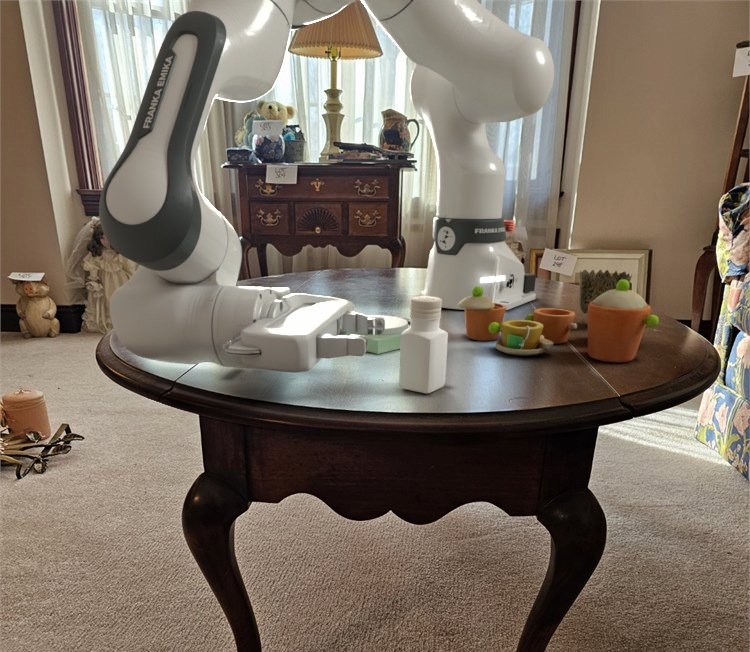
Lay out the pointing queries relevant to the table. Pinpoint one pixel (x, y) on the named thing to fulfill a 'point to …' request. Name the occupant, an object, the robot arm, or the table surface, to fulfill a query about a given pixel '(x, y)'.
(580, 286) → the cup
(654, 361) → the table surface
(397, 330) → the scale
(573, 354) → the table surface
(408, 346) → the white square bottle
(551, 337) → the toy tea set
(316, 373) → the table surface
